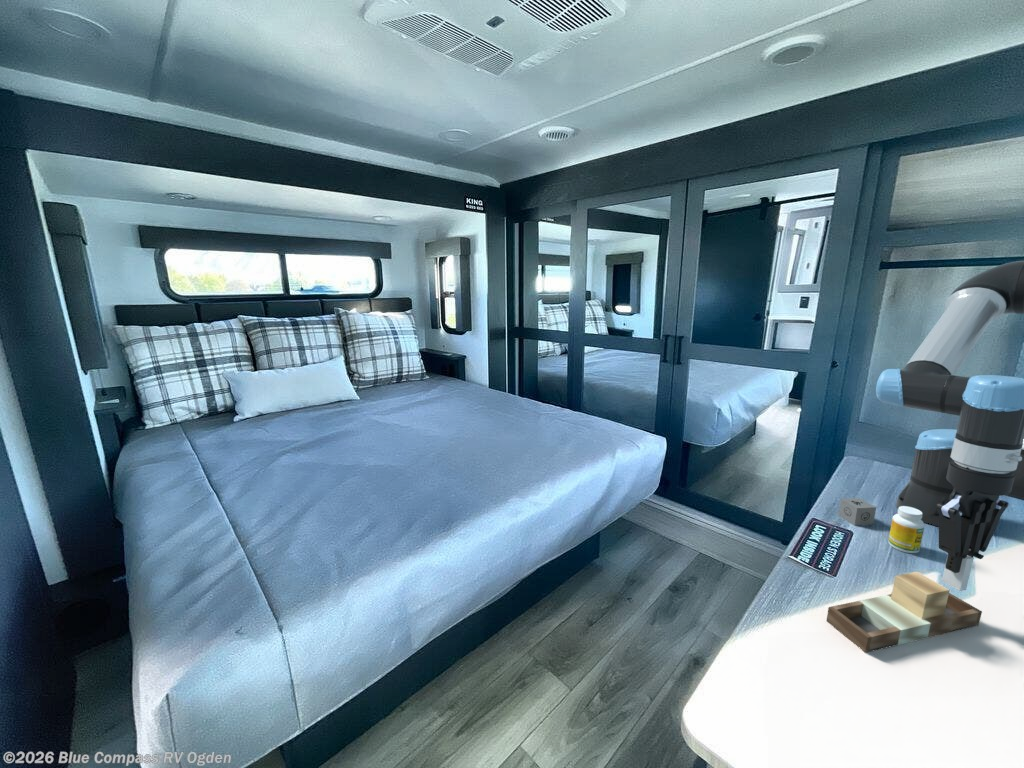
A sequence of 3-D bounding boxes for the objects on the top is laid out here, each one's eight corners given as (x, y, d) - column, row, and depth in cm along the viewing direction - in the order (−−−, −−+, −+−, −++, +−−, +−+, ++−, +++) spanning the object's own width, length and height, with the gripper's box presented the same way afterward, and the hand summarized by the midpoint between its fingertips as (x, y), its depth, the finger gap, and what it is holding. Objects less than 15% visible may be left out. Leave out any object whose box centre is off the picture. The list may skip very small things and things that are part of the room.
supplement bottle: (890, 537, 99) (897, 501, 97) (921, 547, 95) (929, 510, 93) (885, 546, 96) (892, 509, 94) (916, 557, 92) (924, 519, 90)
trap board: (932, 598, 80) (935, 584, 79) (978, 625, 73) (982, 611, 73) (826, 621, 75) (828, 607, 75) (865, 652, 69) (868, 637, 68)
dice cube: (838, 515, 110) (841, 498, 109) (856, 514, 110) (859, 497, 109) (854, 525, 105) (857, 508, 104) (873, 524, 105) (876, 507, 104)
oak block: (912, 594, 77) (916, 571, 76) (944, 614, 72) (949, 589, 71) (890, 599, 76) (895, 575, 75) (921, 619, 71) (927, 594, 70)
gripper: (981, 478, 65) (951, 605, 70) (1041, 470, 68) (1008, 594, 72) (926, 461, 72) (902, 577, 77) (982, 454, 75) (955, 567, 80)
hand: (953, 585), depth 75 cm, fingers closed
